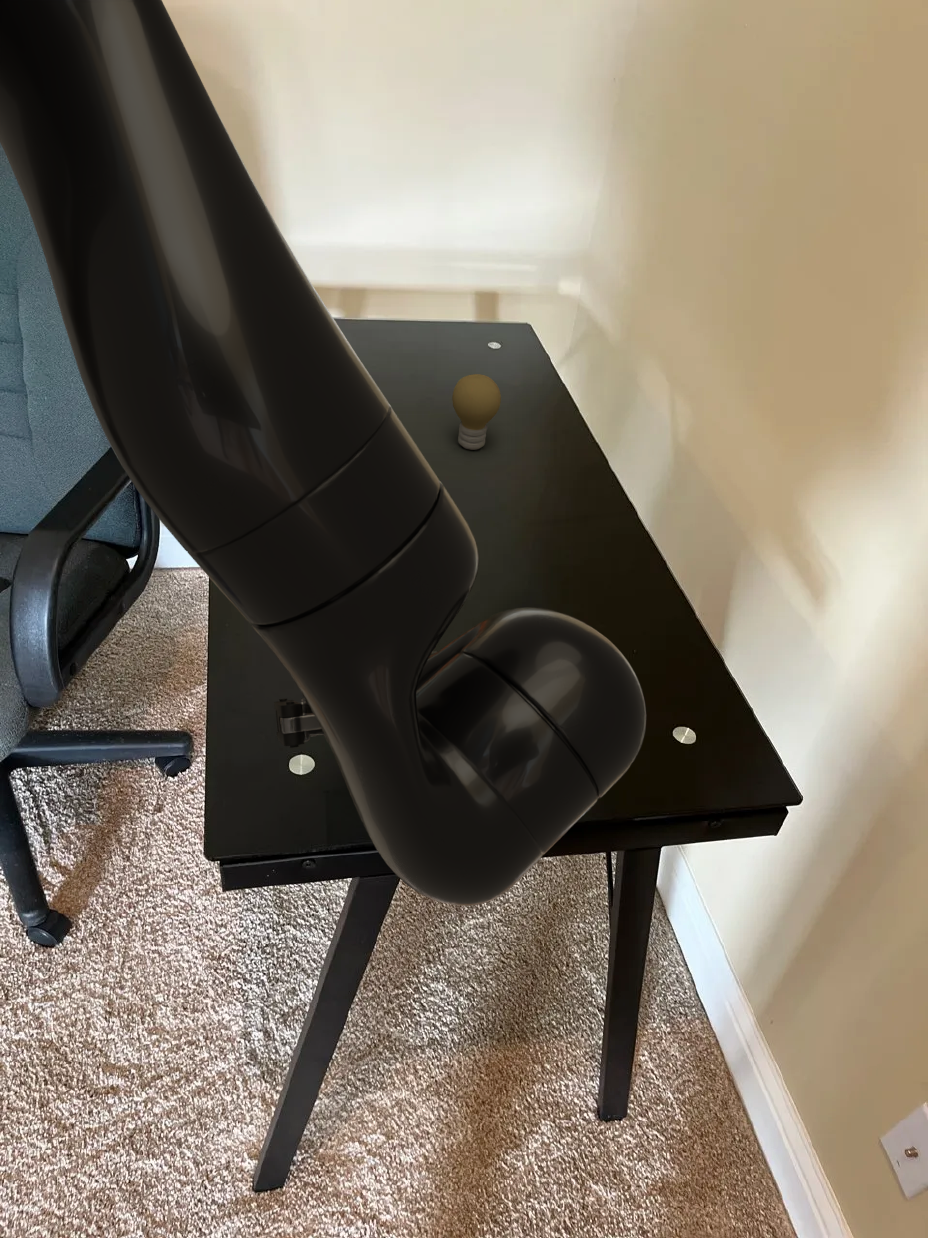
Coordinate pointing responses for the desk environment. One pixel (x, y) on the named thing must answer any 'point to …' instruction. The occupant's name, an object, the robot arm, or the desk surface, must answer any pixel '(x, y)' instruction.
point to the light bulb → (475, 408)
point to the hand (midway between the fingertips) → (373, 704)
